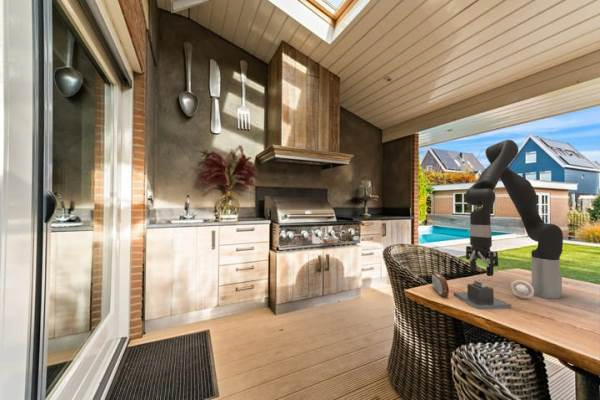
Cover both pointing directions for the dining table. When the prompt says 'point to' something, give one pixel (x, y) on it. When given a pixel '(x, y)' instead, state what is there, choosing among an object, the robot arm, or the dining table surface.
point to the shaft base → (481, 304)
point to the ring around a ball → (522, 289)
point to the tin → (440, 284)
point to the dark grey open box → (480, 293)
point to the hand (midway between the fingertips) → (481, 272)
